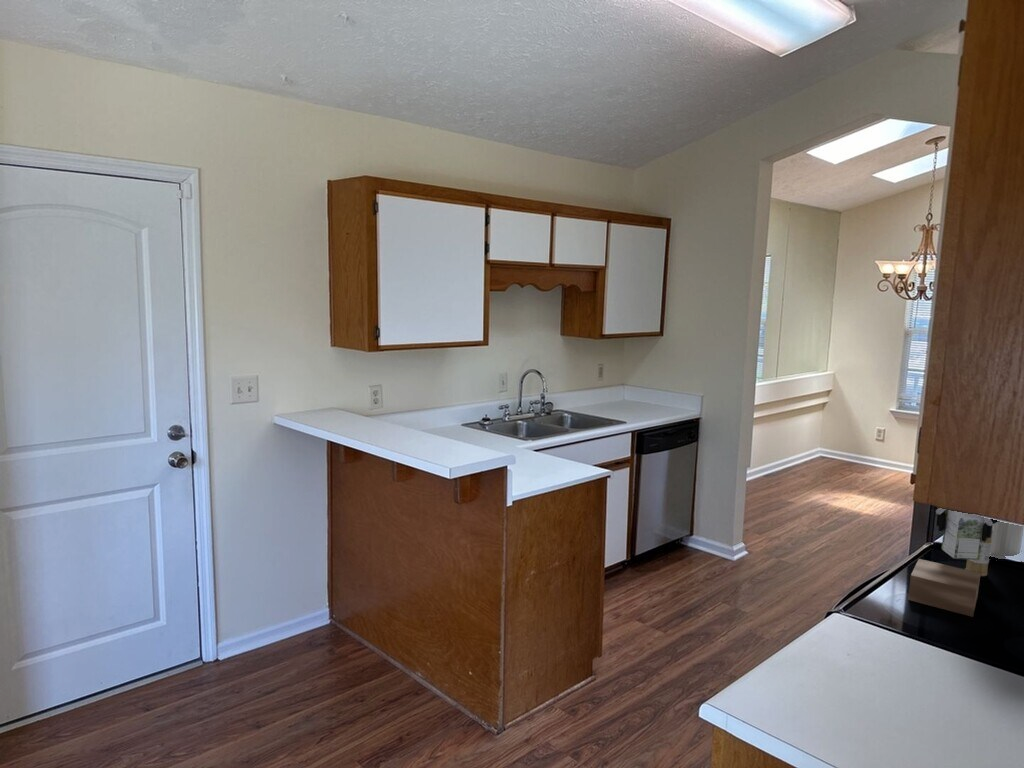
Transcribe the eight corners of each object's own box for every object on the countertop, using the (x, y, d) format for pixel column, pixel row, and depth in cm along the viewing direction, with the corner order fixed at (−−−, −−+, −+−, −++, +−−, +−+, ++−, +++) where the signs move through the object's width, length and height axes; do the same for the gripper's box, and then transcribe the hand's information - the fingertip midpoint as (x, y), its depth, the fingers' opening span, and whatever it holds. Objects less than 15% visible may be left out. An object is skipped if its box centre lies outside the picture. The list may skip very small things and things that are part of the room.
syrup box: (966, 550, 162) (973, 491, 159) (980, 560, 156) (988, 500, 154) (940, 549, 163) (947, 490, 160) (954, 559, 157) (961, 499, 154)
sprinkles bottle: (975, 568, 169) (982, 516, 167) (992, 576, 164) (999, 522, 162) (960, 570, 168) (967, 517, 166) (976, 577, 163) (984, 524, 161)
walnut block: (915, 582, 160) (918, 558, 159) (977, 598, 153) (980, 573, 152) (907, 600, 151) (910, 575, 150) (972, 618, 144) (976, 591, 143)
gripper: (1021, 466, 152) (1011, 540, 155) (932, 451, 164) (925, 520, 167) (1014, 473, 147) (1004, 550, 150) (923, 457, 159) (916, 529, 162)
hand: (962, 534), depth 158 cm, fingers closed on syrup box, 8 cm apart
